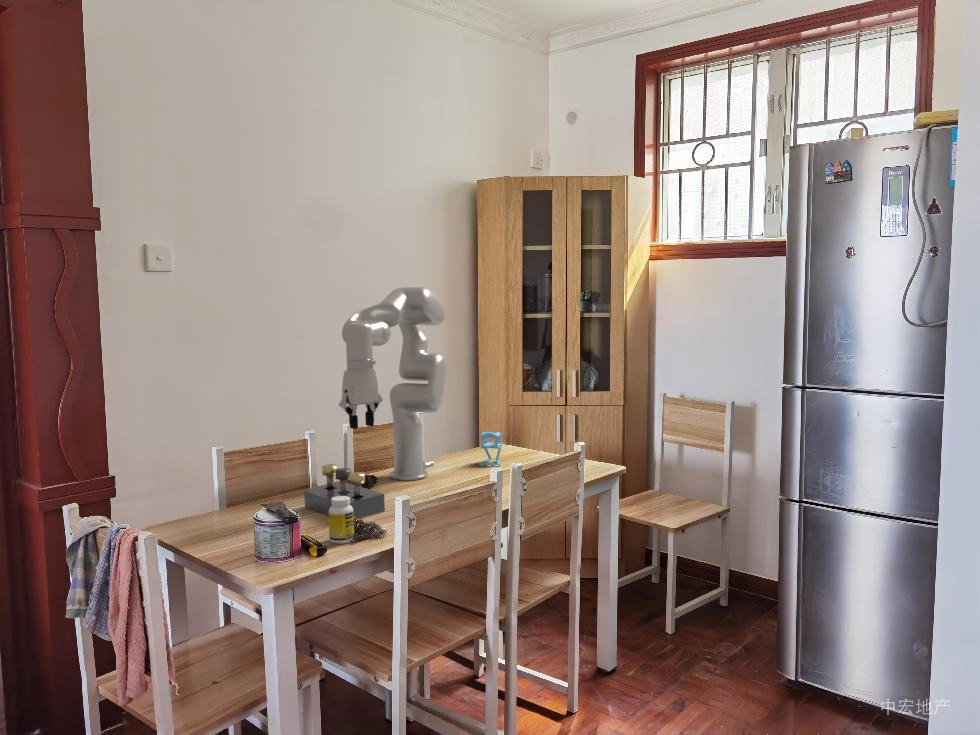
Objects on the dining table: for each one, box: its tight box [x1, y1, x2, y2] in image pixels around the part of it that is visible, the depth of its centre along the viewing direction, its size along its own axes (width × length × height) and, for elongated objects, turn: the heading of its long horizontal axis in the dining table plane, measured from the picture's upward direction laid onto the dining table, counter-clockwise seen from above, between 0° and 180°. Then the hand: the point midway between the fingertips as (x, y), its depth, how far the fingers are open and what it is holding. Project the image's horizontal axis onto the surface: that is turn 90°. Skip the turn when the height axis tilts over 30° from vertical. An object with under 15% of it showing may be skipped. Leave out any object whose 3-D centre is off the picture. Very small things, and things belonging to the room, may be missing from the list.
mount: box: [304, 482, 385, 519], centre depth 230 cm, size 14×20×5 cm
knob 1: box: [321, 463, 338, 490], centre depth 235 cm, size 4×4×8 cm
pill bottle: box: [328, 496, 355, 545], centre depth 202 cm, size 6×6×11 cm
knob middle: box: [334, 467, 352, 495], centre depth 230 cm, size 4×4×8 cm
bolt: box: [337, 473, 379, 489], centre depth 252 cm, size 6×5×15 cm
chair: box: [478, 431, 503, 468], centre depth 285 cm, size 8×8×12 cm
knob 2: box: [348, 471, 366, 499], centre depth 225 cm, size 4×4×8 cm
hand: (361, 426), depth 233 cm, fingers open, 4 cm apart
